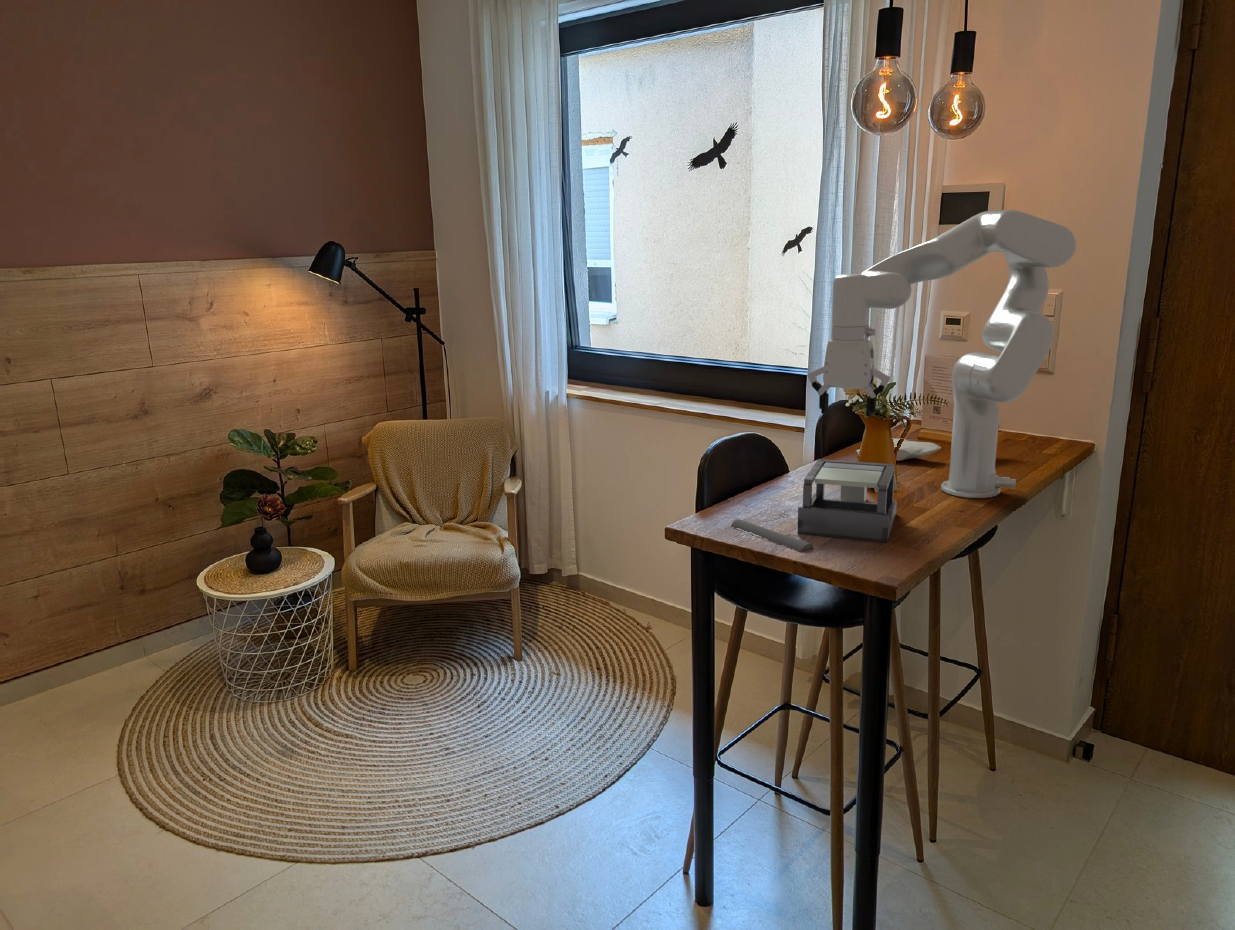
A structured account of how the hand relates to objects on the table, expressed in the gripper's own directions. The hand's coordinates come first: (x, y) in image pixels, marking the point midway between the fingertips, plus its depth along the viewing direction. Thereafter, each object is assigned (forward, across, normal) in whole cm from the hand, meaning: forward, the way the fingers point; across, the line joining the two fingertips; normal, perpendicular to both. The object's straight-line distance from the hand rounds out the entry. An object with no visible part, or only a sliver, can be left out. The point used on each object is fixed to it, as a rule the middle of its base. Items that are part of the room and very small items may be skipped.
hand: (846, 413), depth 191 cm
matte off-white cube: (+20, -2, -2) cm, 21 cm away
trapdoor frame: (+20, -4, +13) cm, 24 cm away
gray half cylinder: (+21, +8, +28) cm, 35 cm away
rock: (+21, -2, -44) cm, 49 cm away
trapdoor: (+12, -4, +13) cm, 18 cm away
